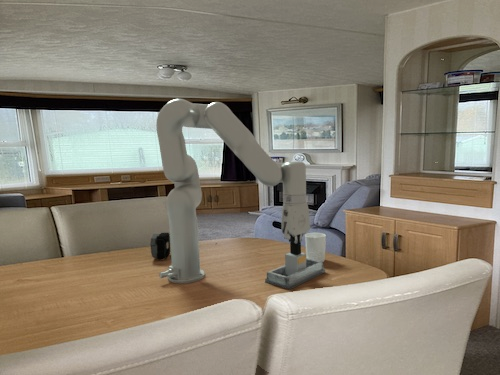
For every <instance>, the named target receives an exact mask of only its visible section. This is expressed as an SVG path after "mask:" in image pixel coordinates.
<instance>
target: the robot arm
mask: <svg viewBox="0 0 500 375" xmlns="http://www.w3.org/2000/svg"><path fill="white" fill-rule="evenodd" d="M183 127H186V128H195V129H205V130H206V129H209V130H212V131H214V133H215V134H216V135H217V136H218V137H219V138H220V139H221V140H222V141H223V142H224V143H225V145H226V146H227V147H228V148H229V149H230V151H232V152H233V153H234V155H235V156H236V157H237V158H238V159H239V160H240V161H241V162H242V164H244V166H245V167H246V168H247V169H248V171H249V172H251V173H252V174H253V175H254V177H255V178H256V179H257V180H258V181H259V182H260V183H261V184H263V185H264V186H266V187H275V186H277V185H278V184H279V183H282V202H283V203H282V209H281V210H282V211H281V232H282V235H283V234H284V235H283V239H285V240H288V242H289V243H290V244H289V245H290V248H289V249H290V250H289V253H291V254H295V255H299V254H301V252H302V244H301V243H302V241H303V237H304V236H305V234H307V233H308V232H309V231H310V229H311V228H310V227H311V221H310V220H311V219H310V211H309V205H308V202H307V179H306V178H307V174H306V173H307V167H306V163H305V162H303V161H287V162H279V161H278V162H277V161H274V159H273V158H272V157H271V156H270V155H269V154H268V153H267V152H266V151H265V150H264V148H263V147H262V146H261V145H260V144H259V143H258V141H257V139H256V138H255V136H254V135H253V133H252V132H251V130H249V128H247V127H246V126H245V125H244V124H243V122H242V121H241V120H240V119H239V118H238V117H237V116H236V115H235V114H234V113H233V111H232V110H231V109H230V108H229V107H228V106H227V104H225V103H223V102H220V101H214V102H211V103H210V104H203V103H193V102H191V101H189V100H186V99H184V98H175V99H174V98H173V99H172V100H170V101H168V102H167V103H166V104H165V105H163V107H162V108H160V110H159V112H158V114H157V118H156V134H157V140H158V145H159V151H160V158H161V163H162V164H161V165H162V169H163V174H164V177H165V178H166V179H167V180H168V181H170V182H171V183H173V184H174V188H173V189H171V190H170V192H169V193H168V195H167V197H166V199H165V200H166V201H165V205H166V206H165V207H166V213H167V218H168V227H169V236H170V256H171V257H170V259H171V265H169V266H168V269H167V270H164V271H161V272H159V274H158V276H159V279H164V278H166V277H167V280H168V281H169V282H171V283H175V284H188V283H189V284H190V283H195V282H197V281H201V280H202V279H203V278H205V275H206V274H205V271H204V270H203V269H201V265H200V262H201V261H200V243H199V225H198V223H199V222H198V217H197V216H198V215H197V207H198V206H200V204H201V202H202V198H203V192H202V186H201V181H200V175H199V169H198V166H197V162H196V161H195V159H194V158H193V157H192V156H191V155H189V154H188V152H187V147H186V146H187V145H186V140H185V137H184V133H183Z"/></svg>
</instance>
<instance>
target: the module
mask: <svg viewBox="0 0 500 375" xmlns="http://www.w3.org/2000/svg"><path fill="white" fill-rule="evenodd" d="M284 256H285V257H284V261H285V262H284V265H285V274H286V275H291V274H294V273H296V272H298V271H300V270H303V269H305V268H306V258H307V254H306V252H302V251H301V254H299V255H295V254H291V253H290V252H288V253H284Z"/></svg>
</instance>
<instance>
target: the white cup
mask: <svg viewBox="0 0 500 375" xmlns="http://www.w3.org/2000/svg"><path fill="white" fill-rule="evenodd" d="M304 239H305V240H304V242H305V253H306V258H308V259H312V260H316V261H321V262H323V263H324V262H325V259H326V257H325V256H326V247H327V246H326V245H327V243H326V242H327V235H326V234H325V233H322V232H309V233H308V232H306V234H304Z"/></svg>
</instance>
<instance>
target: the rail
mask: <svg viewBox="0 0 500 375" xmlns="http://www.w3.org/2000/svg"><path fill="white" fill-rule="evenodd" d="M325 273H326V269H324V262H321V261H316V260H312V259H308V258H307V257H306V268H305V269H303V270H300V271H298V272H296V273H294V274H291V275H286V274H285V264H284V265H280V266H279V267H276V268H273V269H271V270H269V271H266V278H265V279H264V282H265V283H268V284H271V285H273V286H276V287H281V288H283V289H286V290H292V289H294V288H296V287H297V286H300V285H302V284H304V283H306V282H309V281H310V280H312V279H314V278H316V277H319V276H320V275H322V274H325Z"/></svg>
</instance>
